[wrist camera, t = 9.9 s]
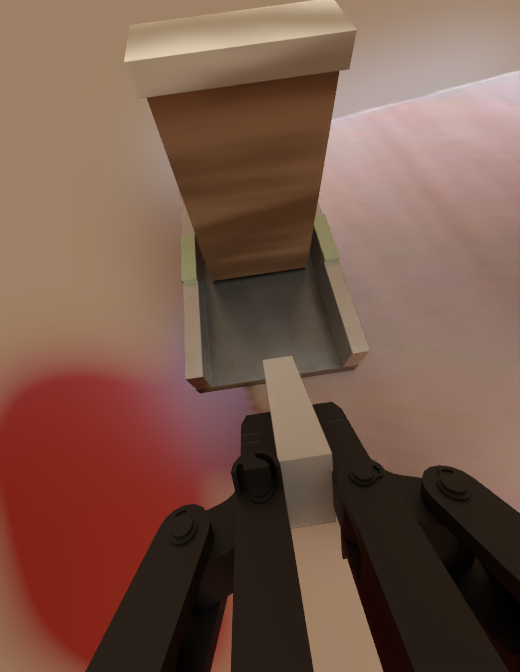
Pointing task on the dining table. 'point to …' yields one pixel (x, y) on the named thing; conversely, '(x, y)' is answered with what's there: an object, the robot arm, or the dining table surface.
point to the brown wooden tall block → (245, 123)
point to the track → (267, 317)
